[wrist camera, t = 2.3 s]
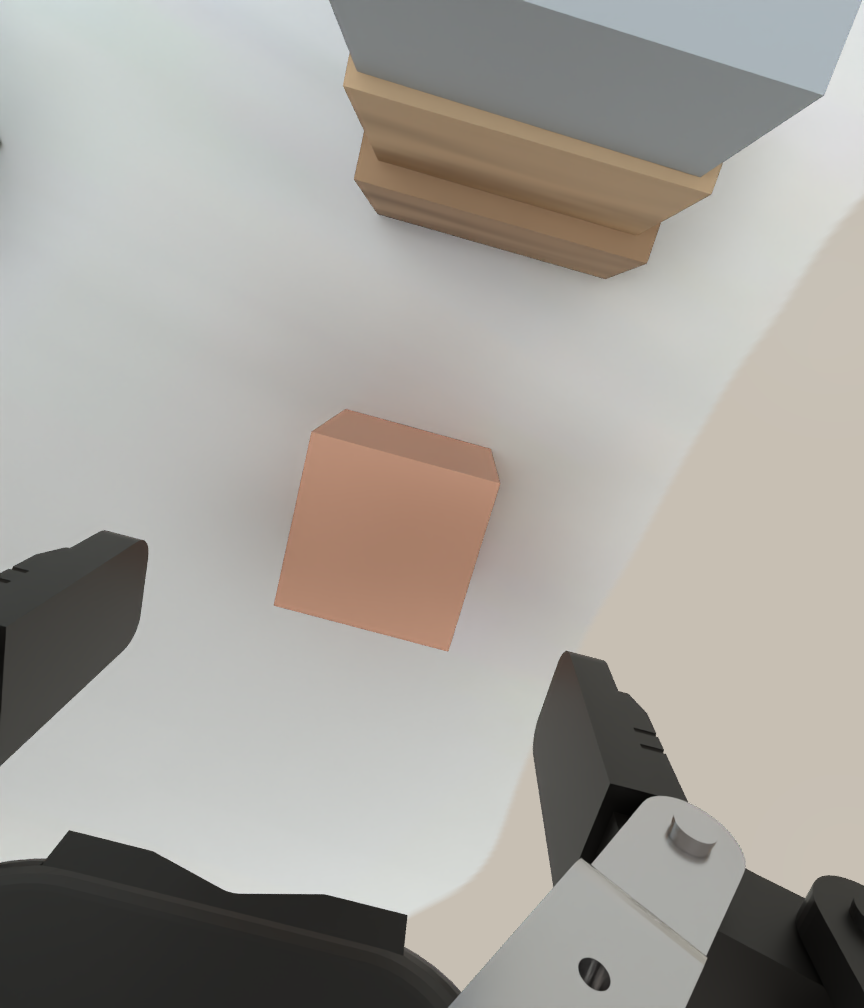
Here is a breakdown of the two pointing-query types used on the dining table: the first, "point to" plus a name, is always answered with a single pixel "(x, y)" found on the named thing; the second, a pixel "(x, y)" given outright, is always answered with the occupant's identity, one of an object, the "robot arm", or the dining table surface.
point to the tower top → (612, 65)
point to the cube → (387, 528)
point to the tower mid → (518, 158)
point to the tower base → (498, 220)
